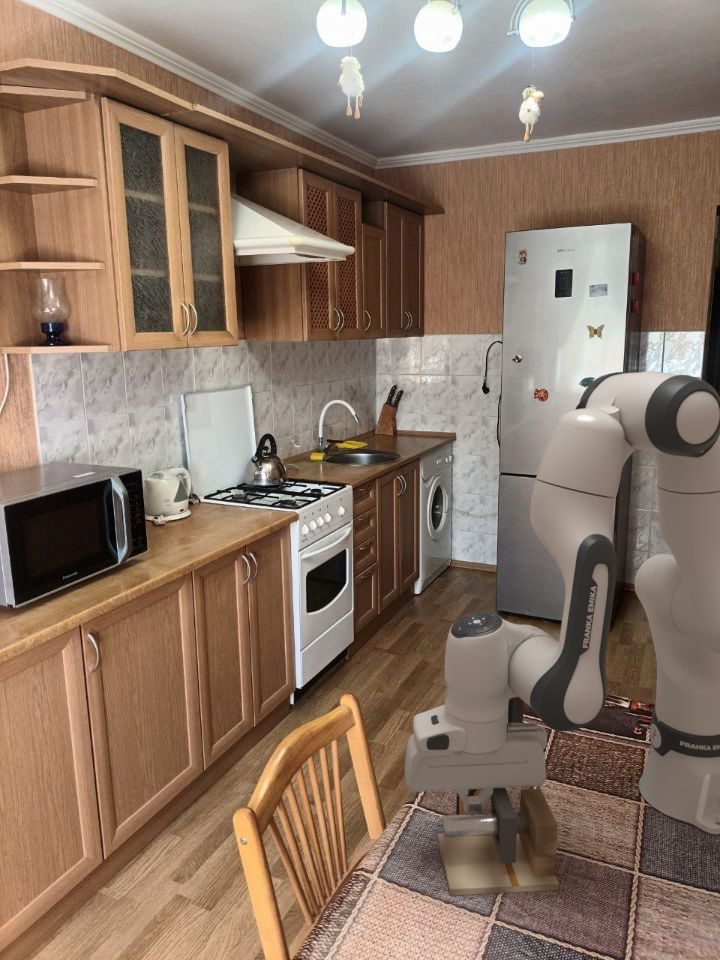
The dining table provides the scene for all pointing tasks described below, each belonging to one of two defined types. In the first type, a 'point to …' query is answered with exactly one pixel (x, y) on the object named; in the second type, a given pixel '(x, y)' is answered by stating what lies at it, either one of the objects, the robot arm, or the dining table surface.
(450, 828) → the steel pipe
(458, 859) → the pipe stand
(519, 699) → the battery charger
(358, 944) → the dining table surface
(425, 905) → the dining table surface
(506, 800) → the collar
